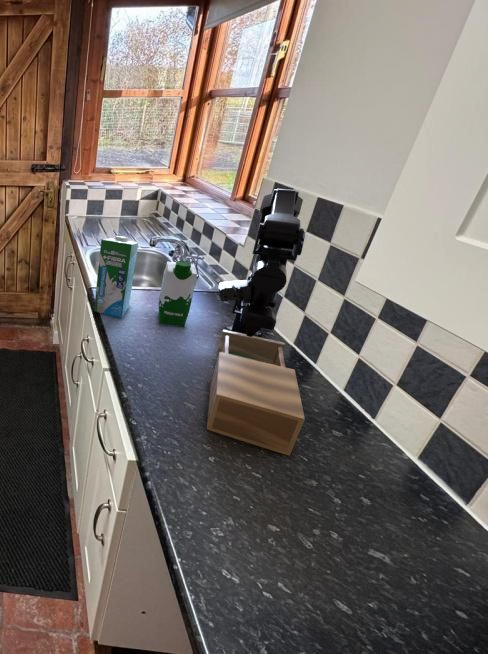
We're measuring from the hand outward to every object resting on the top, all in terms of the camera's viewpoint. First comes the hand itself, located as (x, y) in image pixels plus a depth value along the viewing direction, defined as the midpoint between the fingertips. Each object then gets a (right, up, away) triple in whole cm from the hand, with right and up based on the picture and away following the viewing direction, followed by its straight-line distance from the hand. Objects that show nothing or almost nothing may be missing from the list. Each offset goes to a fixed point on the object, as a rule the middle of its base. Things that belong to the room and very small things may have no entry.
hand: (248, 335), depth 96 cm
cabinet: (-5, -17, -7) cm, 19 cm away
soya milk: (-5, +1, +30) cm, 31 cm away
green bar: (+3, -9, +5) cm, 11 cm away
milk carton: (-21, +3, +37) cm, 43 cm away
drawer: (+2, -11, +4) cm, 11 cm away
